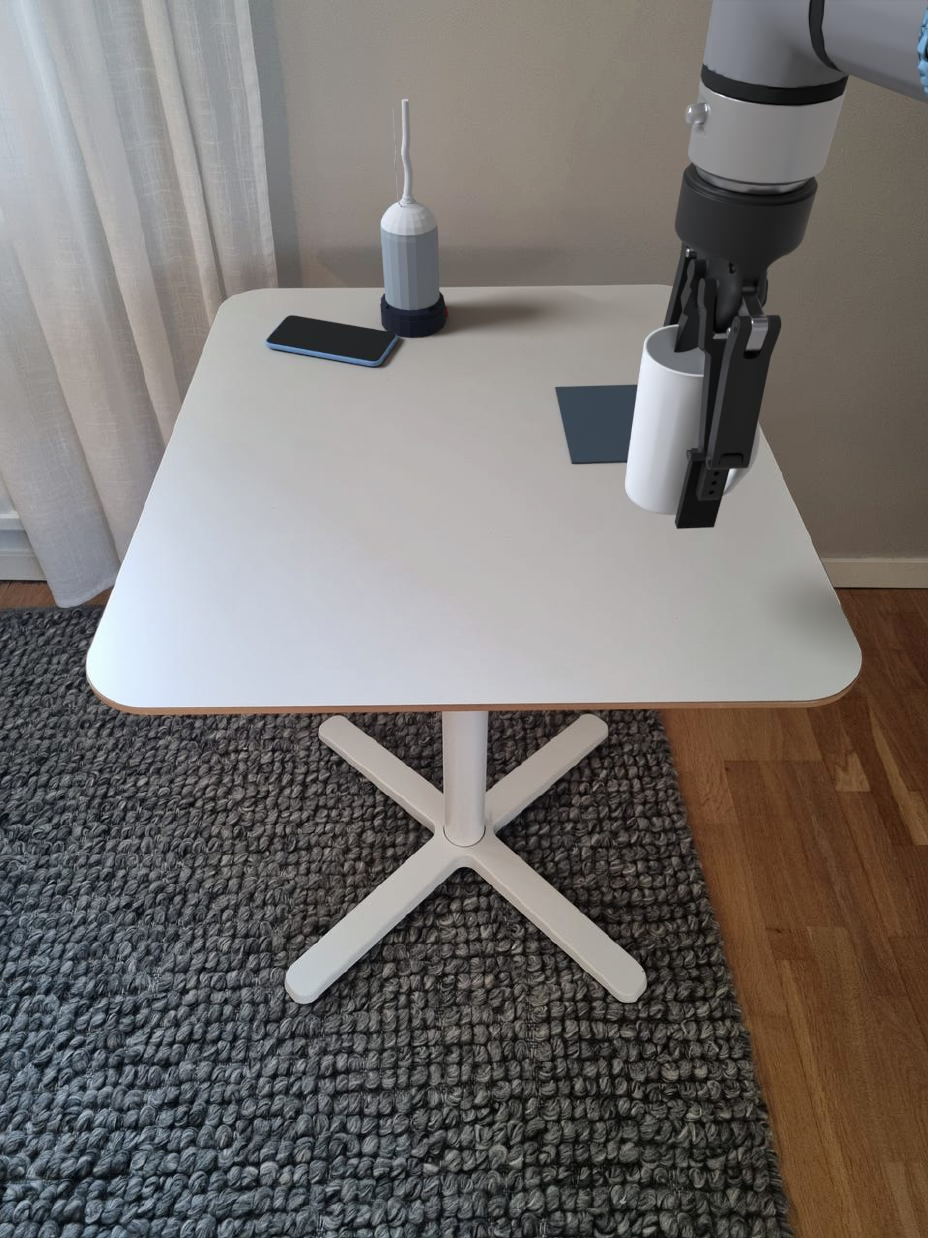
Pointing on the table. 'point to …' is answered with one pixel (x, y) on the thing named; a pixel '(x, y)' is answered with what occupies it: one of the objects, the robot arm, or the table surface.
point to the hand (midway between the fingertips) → (680, 485)
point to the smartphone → (332, 340)
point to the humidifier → (410, 259)
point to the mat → (597, 421)
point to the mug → (668, 423)
